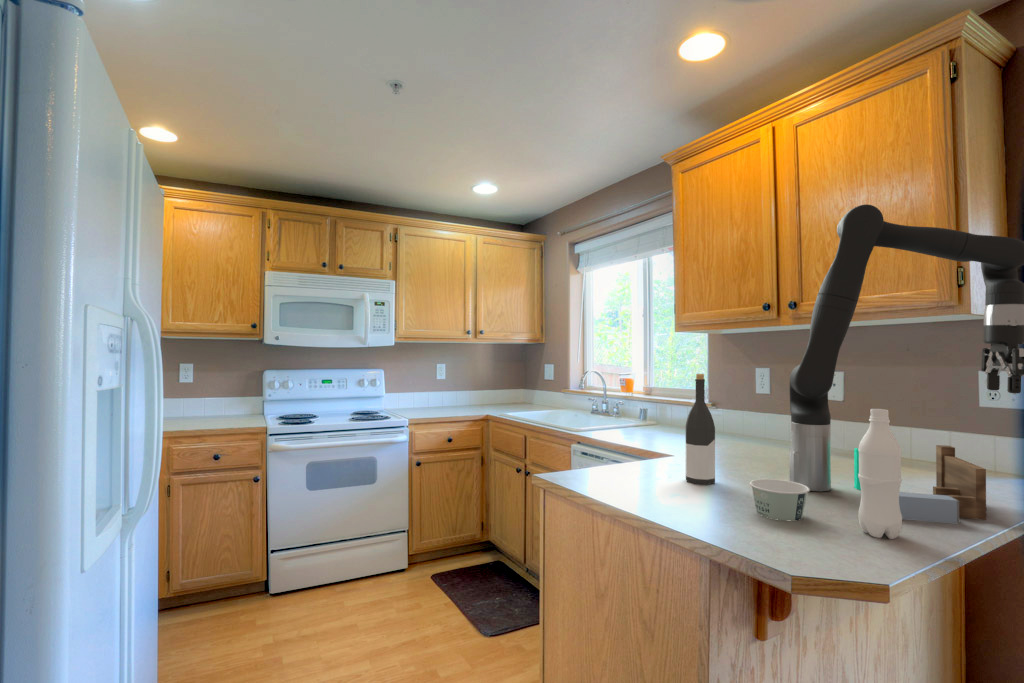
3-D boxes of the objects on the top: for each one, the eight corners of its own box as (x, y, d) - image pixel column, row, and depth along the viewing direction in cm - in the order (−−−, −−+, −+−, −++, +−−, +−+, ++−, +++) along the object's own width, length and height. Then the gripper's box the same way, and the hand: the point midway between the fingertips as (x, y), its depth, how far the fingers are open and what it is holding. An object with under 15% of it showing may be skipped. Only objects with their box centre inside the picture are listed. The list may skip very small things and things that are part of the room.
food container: (737, 510, 122) (737, 481, 122) (775, 504, 127) (775, 476, 127) (783, 526, 111) (782, 495, 111) (822, 519, 116) (822, 489, 116)
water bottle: (903, 543, 101) (903, 412, 101) (858, 536, 105) (858, 410, 105) (900, 532, 107) (899, 408, 107) (858, 526, 111) (857, 406, 111)
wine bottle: (690, 476, 153) (689, 372, 153) (719, 480, 148) (718, 373, 149) (680, 482, 147) (680, 374, 147) (711, 487, 142) (710, 375, 142)
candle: (878, 487, 142) (878, 442, 142) (883, 493, 136) (883, 446, 136) (852, 485, 144) (852, 441, 144) (856, 490, 139) (855, 444, 139)
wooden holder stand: (951, 516, 117) (950, 458, 117) (917, 495, 134) (917, 444, 134) (989, 520, 115) (988, 460, 115) (949, 497, 132) (949, 445, 132)
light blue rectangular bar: (880, 517, 117) (880, 494, 117) (874, 512, 121) (874, 490, 121) (959, 524, 113) (959, 500, 113) (950, 518, 116) (950, 495, 116)
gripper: (969, 325, 135) (968, 388, 135) (1002, 322, 121) (1001, 393, 121) (1006, 325, 133) (1005, 390, 133) (1043, 322, 119) (1042, 394, 119)
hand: (1003, 391), depth 127 cm, fingers open, 8 cm apart
